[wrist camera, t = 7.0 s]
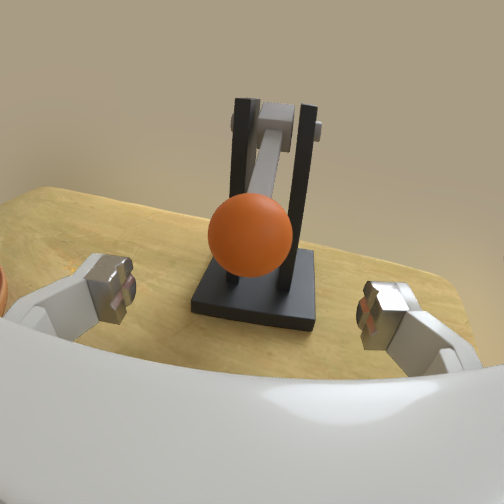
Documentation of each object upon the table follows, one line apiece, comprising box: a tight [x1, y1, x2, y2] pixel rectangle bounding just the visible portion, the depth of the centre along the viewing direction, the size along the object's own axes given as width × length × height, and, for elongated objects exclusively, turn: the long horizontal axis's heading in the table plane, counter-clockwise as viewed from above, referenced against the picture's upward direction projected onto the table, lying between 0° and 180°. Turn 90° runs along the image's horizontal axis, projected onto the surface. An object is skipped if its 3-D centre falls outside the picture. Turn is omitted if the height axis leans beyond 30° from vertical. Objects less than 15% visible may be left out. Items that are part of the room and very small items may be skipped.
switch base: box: [191, 98, 322, 331], centre depth 22 cm, size 10×9×15 cm
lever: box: [208, 102, 295, 278], centre depth 16 cm, size 13×4×4 cm, turn 171°
